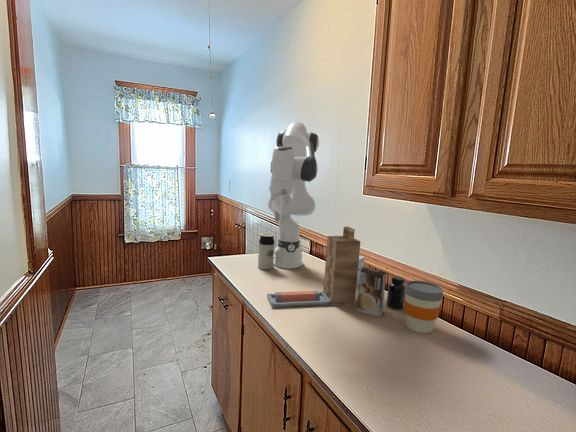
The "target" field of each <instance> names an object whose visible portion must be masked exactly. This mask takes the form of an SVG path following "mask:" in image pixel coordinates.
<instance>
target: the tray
mask: <svg viewBox="0 0 576 432" xmlns="http://www.w3.org/2000/svg"><path fill="white" fill-rule="evenodd" d="M318 292H319V293H320V301H300V302H278V303H276V301H275V293H267V296H266V297H267V300H268V302H269V305H270V306H271V309H278V308H279V309H281V308H282V309H283V308H299V307H301V308H302V307H303V308H304V307H321V306H332V305H331V300H330V299H329V298H328V297H327V296H326V295H325V294H324V292H323V291H318Z"/></svg>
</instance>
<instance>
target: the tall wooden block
mask: <svg viewBox="0 0 576 432" xmlns="http://www.w3.org/2000/svg"><path fill="white" fill-rule="evenodd" d="M355 232H356V230H355V229H354V228H352V227H350V226H343V233H342V235H327V239H326V241H327V243H326V252H325V253H326V254H325V265H324V266H325V267H324V278H323V291H322V292H324V294H325V295H326V296H327V297H328V298H329V299H330V300H331V305H330V306H337V305H338V306H340V305H355V302H356V292H357V285H358V284H357V273H358V263H359V256H360V250H361V241H360V240H358V239H357V238H355ZM356 284H357V285H356Z"/></svg>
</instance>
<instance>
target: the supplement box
mask: <svg viewBox="0 0 576 432" xmlns="http://www.w3.org/2000/svg"><path fill="white" fill-rule="evenodd" d="M365 262H366V256H363V255H359V263H358V273H357V284H356V286H357V285H359V277H360V271H361V270H362V269H363V268H365Z"/></svg>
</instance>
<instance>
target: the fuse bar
mask: <svg viewBox="0 0 576 432" xmlns="http://www.w3.org/2000/svg"><path fill="white" fill-rule="evenodd" d="M319 292H320V291H319V290H303V291H302V290H301V291H280V292H279V291H278V292H277V291H275V292H274V294H275V301H276V303H278V302H300V301H320V293H319Z"/></svg>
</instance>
